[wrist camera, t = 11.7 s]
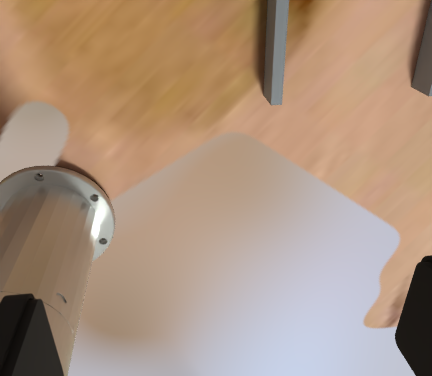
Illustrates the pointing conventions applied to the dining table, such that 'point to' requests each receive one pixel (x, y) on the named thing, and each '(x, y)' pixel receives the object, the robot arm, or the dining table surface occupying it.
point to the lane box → (276, 46)
